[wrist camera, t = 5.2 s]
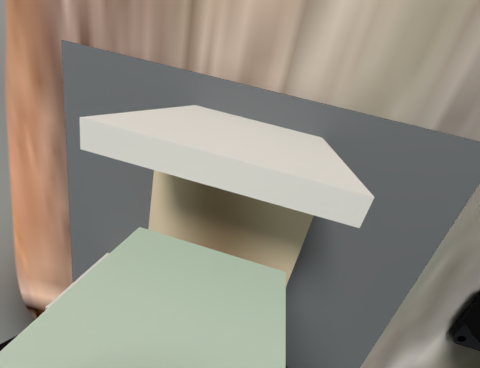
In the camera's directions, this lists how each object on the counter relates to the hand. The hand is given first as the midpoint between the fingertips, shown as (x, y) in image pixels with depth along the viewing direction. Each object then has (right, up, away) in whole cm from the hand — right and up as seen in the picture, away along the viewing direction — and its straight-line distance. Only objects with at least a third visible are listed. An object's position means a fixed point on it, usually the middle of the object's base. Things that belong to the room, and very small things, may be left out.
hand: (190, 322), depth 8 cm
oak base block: (+1, +3, +7) cm, 8 cm away
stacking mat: (+1, +1, +9) cm, 9 cm away
